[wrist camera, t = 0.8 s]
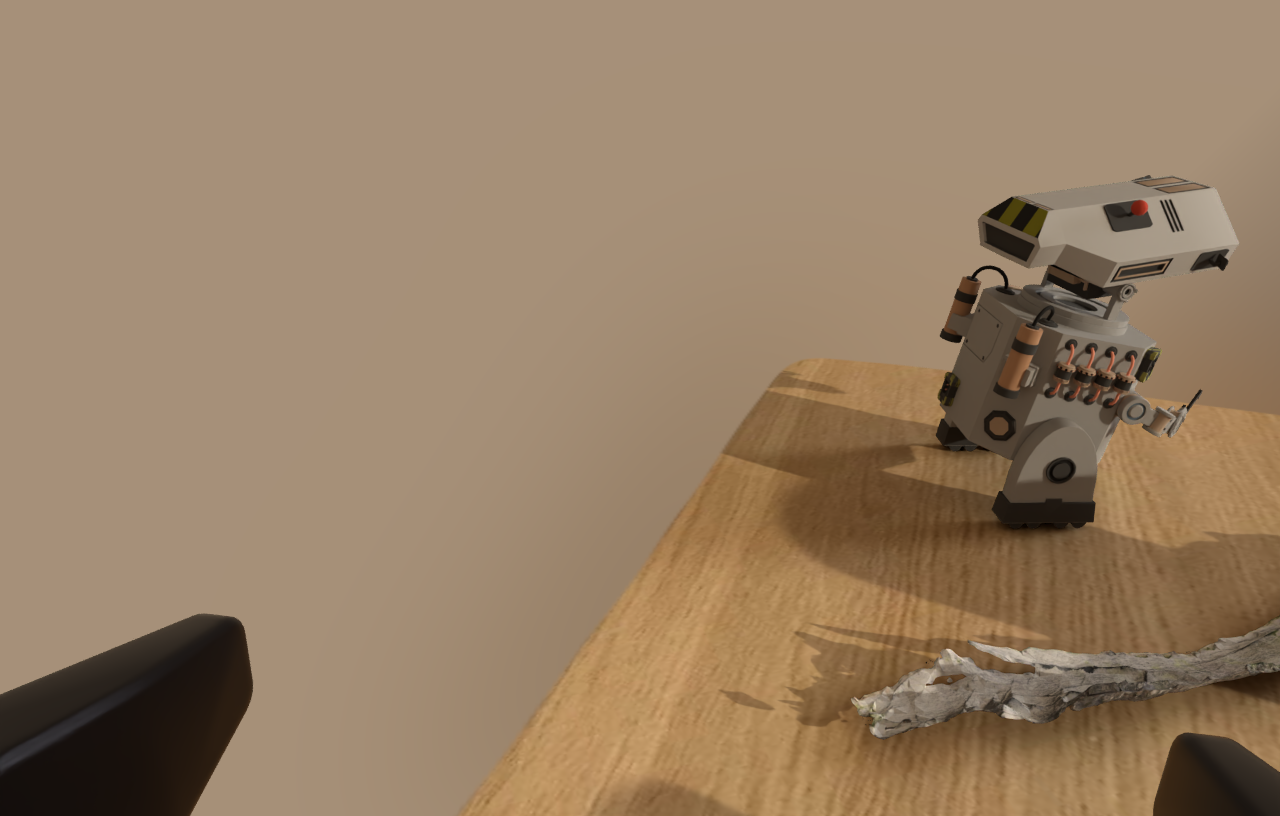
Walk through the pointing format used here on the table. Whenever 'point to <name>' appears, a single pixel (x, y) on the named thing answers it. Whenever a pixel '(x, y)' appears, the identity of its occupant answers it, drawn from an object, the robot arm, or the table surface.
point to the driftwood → (1061, 681)
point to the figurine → (1070, 334)
